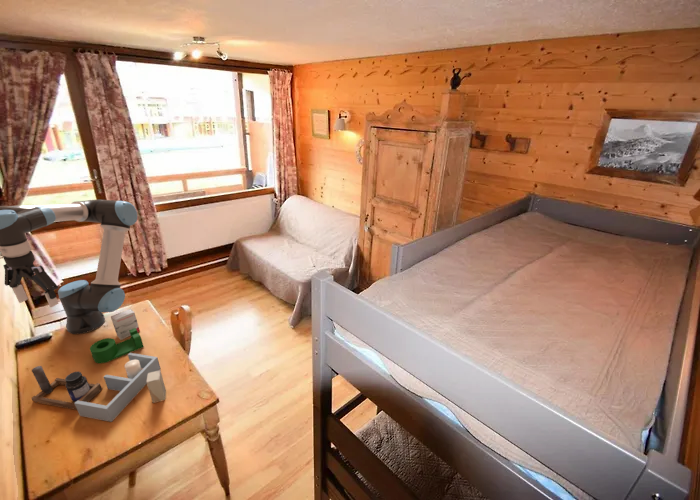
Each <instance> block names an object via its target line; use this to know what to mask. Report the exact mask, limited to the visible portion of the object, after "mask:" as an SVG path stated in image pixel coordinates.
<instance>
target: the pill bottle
mask: <svg viewBox="0 0 700 500" xmlns="http://www.w3.org/2000/svg"><path fill="white" fill-rule="evenodd" d="M64 379H65V380H66V382H67V383H66V385H65V388H66V391H67V394H68V395H69V397H70V400H71V403H75V402H76V401H77V400H79V399H80V398H81V397H83V396H84V395H85V394H86V393H87V392H88V391H89V390H90V386H89V384H88V383H89V382H88V379H87V377H86V376H85V375H83V374H82V372H81V371H73V372H70V373H69V374H67V375H66V376H65V378H64Z"/></svg>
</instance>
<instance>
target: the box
mask: <svg viewBox="0 0 700 500" xmlns="http://www.w3.org/2000/svg"><path fill="white" fill-rule="evenodd" d="M146 383H147V384H146V386H147V388H148V393H149V396H150V399H151V401H152V403H153V404H154V403H159V402H162V401H165V400H166V394H167V389H166V386H165V381H164V378H163V375H162V371H161V369H160V370H159V371H154V372H151V373H148V375H147V382H146Z"/></svg>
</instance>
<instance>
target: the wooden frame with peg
mask: <svg viewBox="0 0 700 500" xmlns="http://www.w3.org/2000/svg"><path fill="white" fill-rule="evenodd" d="M31 372H32V374H33V376H34V378H35V380H36V382H37V384H38V386H39V388H40V390H41V391H40V392H38V393H37V394H36V395H34V396H32V397H31V400H32V401H35V402H34V403H37V402H39V403H38V404H43V405H48V406H54V407H59V408H64V409H65V408H66V409H70V410H77V408H76V406H75V404H74V403H73V402H72V401H71V402H70V401H65V400H59V399H54V398H49V397H48V398H47V397H45V396H46V395H48V394H49V395H50V393H52V392H53V389H54V388H56V387H57V386H58V385H63V386H66V383H67V382H66V380H65V378H59V377H56V378H55V379H54V381H52V382H51V383H50V381H49V378H48V377H47V374H46V373H45V371H44V368H43V366H42V365H37V366H35V367H33V368H32V369H31ZM88 384H89V386H90V390H89V391H88V392H87V393H86V394H85V395H84V396H83V397H81V398H80V399H79V400H78V401H84V402H89V403H90V401H91V400H93V399H94V398H95V396H96V395H98V394H99V393H100V392H101V391H102V390H103V387H102V385H101V383H99V382H97V383H96V384H95V383H89V382H88ZM77 411H78V410H77Z"/></svg>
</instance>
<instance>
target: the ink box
mask: <svg viewBox="0 0 700 500" xmlns="http://www.w3.org/2000/svg"><path fill="white" fill-rule="evenodd" d="M110 319H111V322H112V325H113V328H114V330H115V333H116V337H117V338H118V339H119V340H121V341H122V340H125V339H126V338H128V337H131V335H130V332H129V330H131V329H134V328H136V329H137V332H138V333H139V332H141V330H140V327H139V323H138V319H137V315H136V312H135V311H134V310H133V309H131V308H129V309H126V310H124V311H122V312H121V311H120V312H118V313H115V314H113V315H111V316H110Z"/></svg>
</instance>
